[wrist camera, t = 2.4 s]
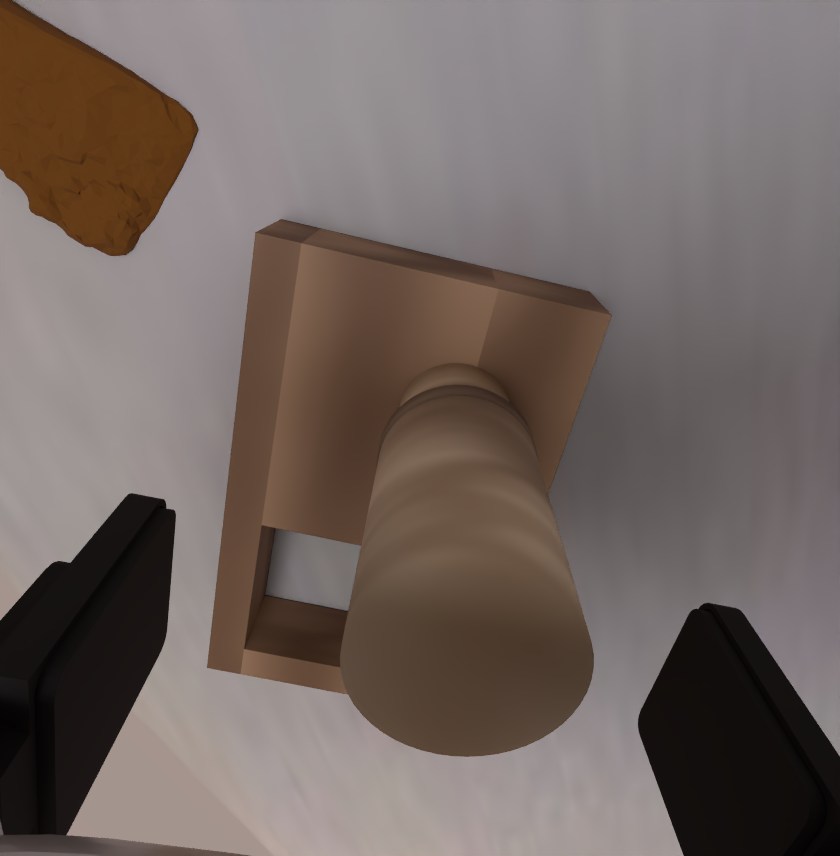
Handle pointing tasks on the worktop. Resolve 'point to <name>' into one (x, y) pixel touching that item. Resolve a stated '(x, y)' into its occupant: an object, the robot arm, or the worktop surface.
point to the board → (363, 408)
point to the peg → (463, 579)
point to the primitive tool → (85, 134)
